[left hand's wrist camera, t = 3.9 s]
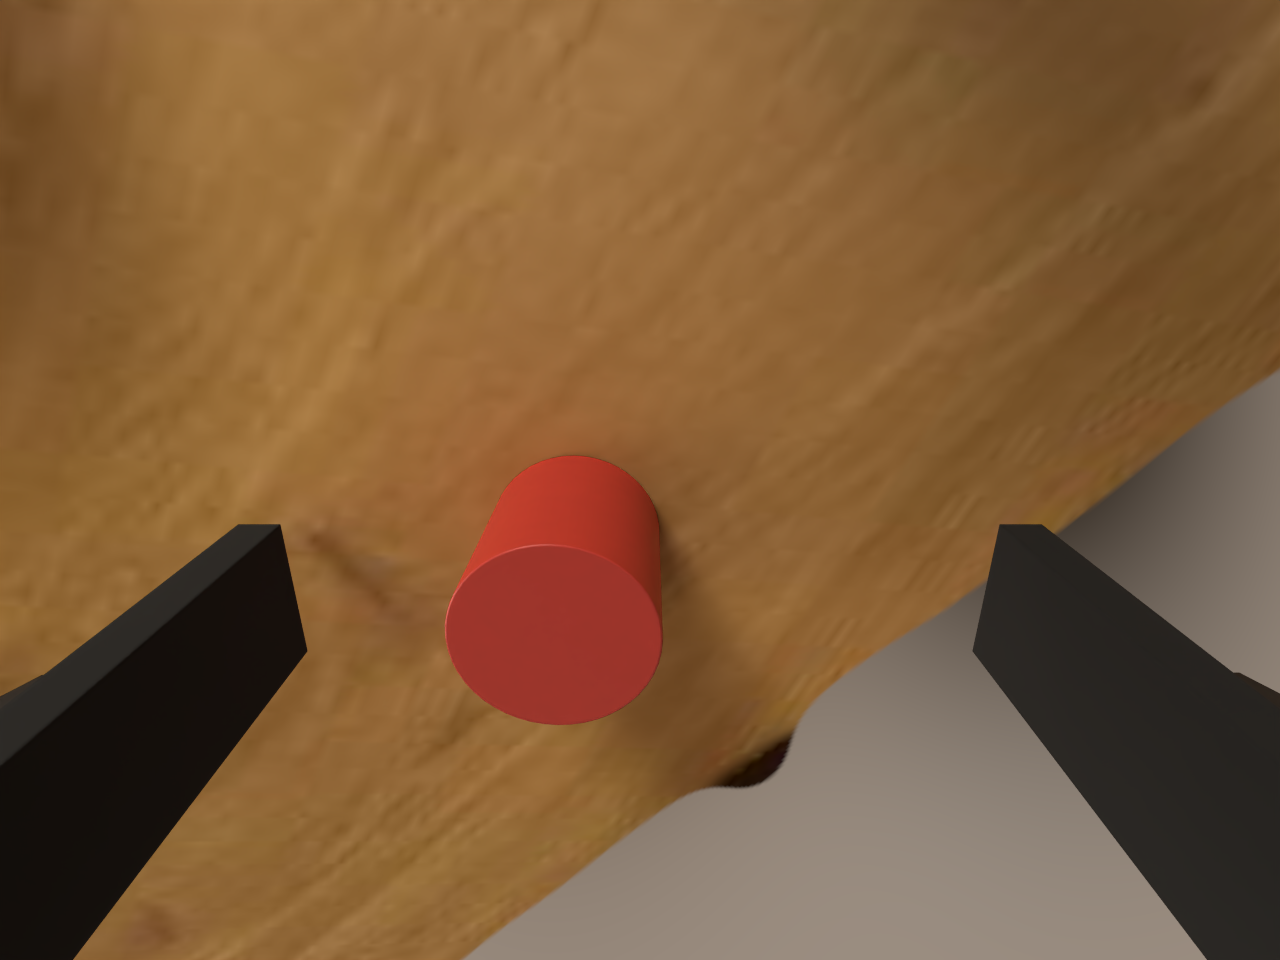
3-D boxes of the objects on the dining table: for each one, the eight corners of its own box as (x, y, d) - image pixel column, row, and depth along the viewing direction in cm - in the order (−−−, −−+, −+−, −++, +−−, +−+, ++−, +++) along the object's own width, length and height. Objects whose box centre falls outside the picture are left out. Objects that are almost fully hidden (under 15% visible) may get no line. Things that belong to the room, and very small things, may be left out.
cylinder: (646, 611, 31) (646, 736, 24) (489, 592, 30) (441, 713, 23) (671, 467, 28) (679, 560, 21) (498, 444, 28) (447, 530, 21)
